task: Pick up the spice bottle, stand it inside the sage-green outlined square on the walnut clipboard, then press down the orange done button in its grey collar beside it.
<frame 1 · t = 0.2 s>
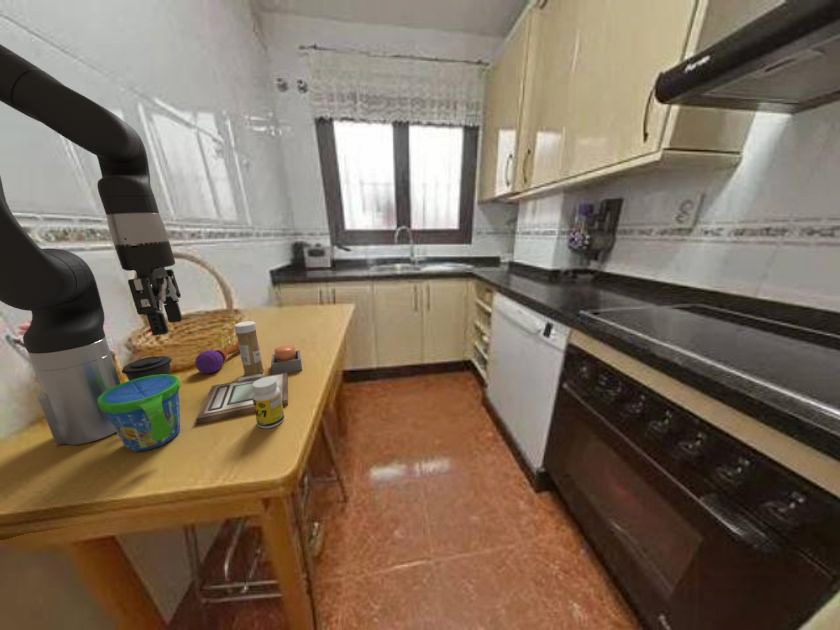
hand: (169, 327, 60), 18 cm above the table, tool pointing down, fingers open, 8 cm apart
supplement bottle: (271, 422, 60), on the table
coffee cup: (158, 403, 68), on the table
colouring board: (248, 397, 69), on the table
button collar: (287, 367, 83), on the table
kendama: (228, 361, 89), on the table
spice bottle: (254, 374, 81), on the table
snack cup: (155, 440, 56), on the table
done button: (285, 355, 82), point 3 cm above the table, slide at 0.0 cm
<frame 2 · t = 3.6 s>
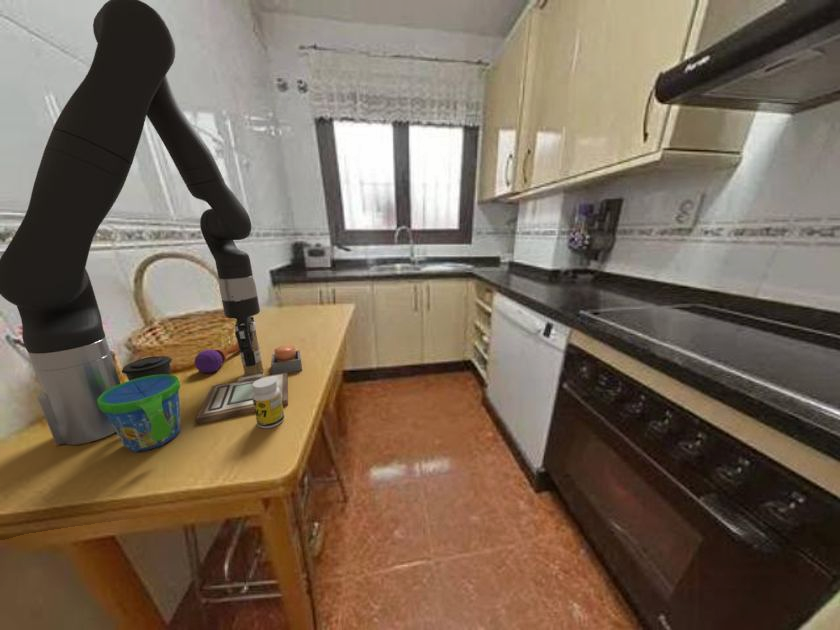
hand: (251, 361, 80), 3 cm above the table, tool pointing down, fingers closed on spice bottle, 4 cm apart
spice bottle: (254, 373, 81), on the table, touching gripper
everything else where it was.
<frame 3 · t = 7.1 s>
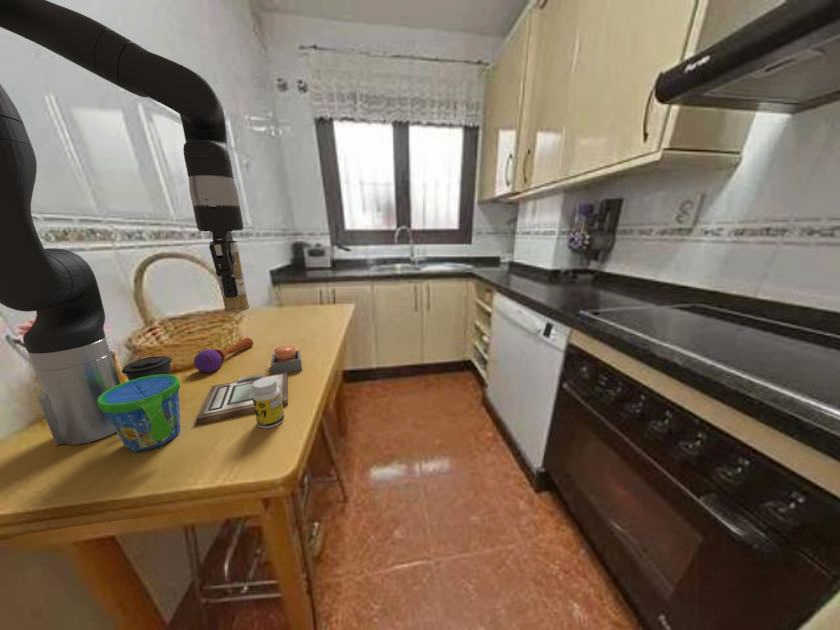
hand: (233, 294, 63), 23 cm above the table, tool pointing down, fingers closed on spice bottle, 4 cm apart
spice bottle: (237, 311, 64), point 19 cm above the table, touching gripper
everything else where it was.
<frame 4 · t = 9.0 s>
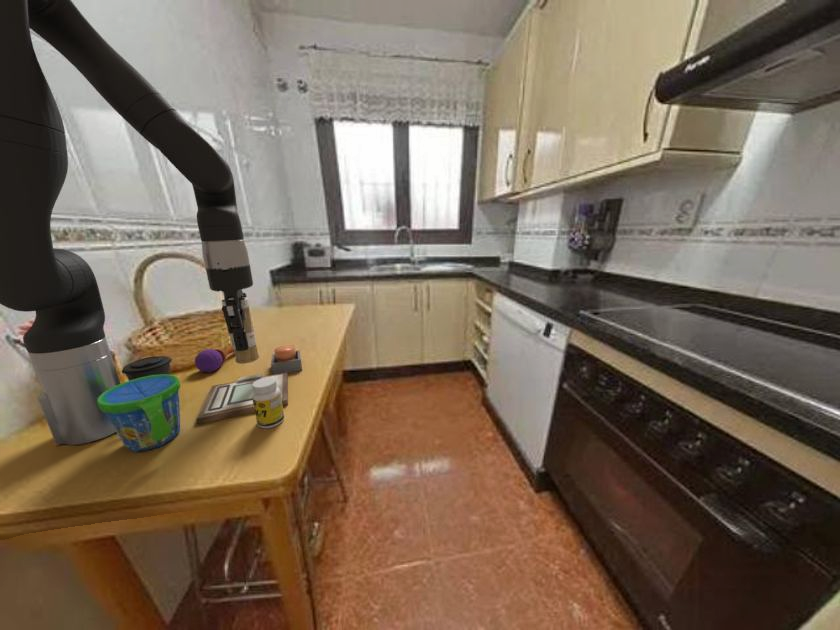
hand: (244, 345, 66), 12 cm above the table, tool pointing down, fingers closed on spice bottle, 4 cm apart
spice bottle: (247, 360, 67), point 8 cm above the table, touching gripper
everything else where it was.
when the fingers open (6 cm above the table, at t = 10.6 s): spice bottle drops 1 cm, resting on colouring board.
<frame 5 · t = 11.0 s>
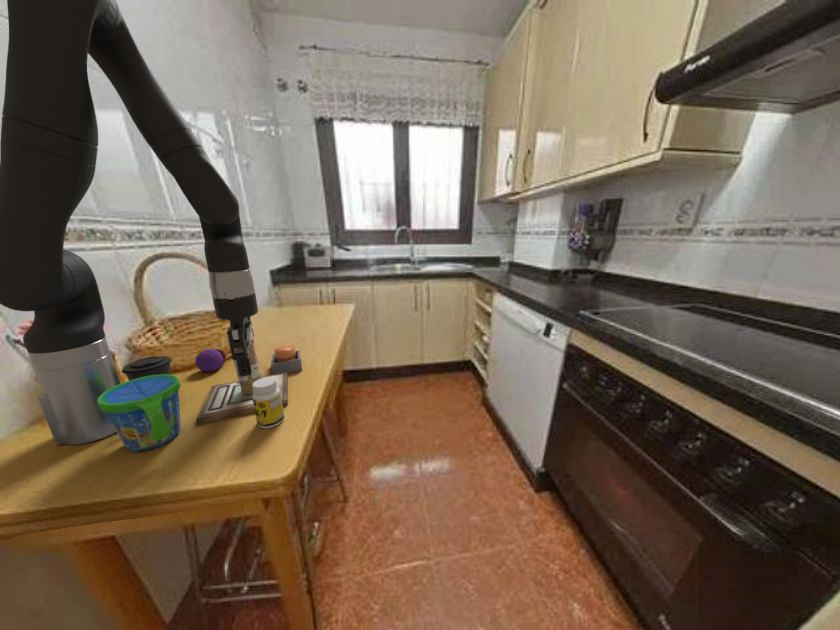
hand: (248, 367, 67), 7 cm above the table, tool pointing down, fingers open, 8 cm apart
spice bottle: (252, 390, 69), point 1 cm above the table, touching colouring board
everything else where it was.
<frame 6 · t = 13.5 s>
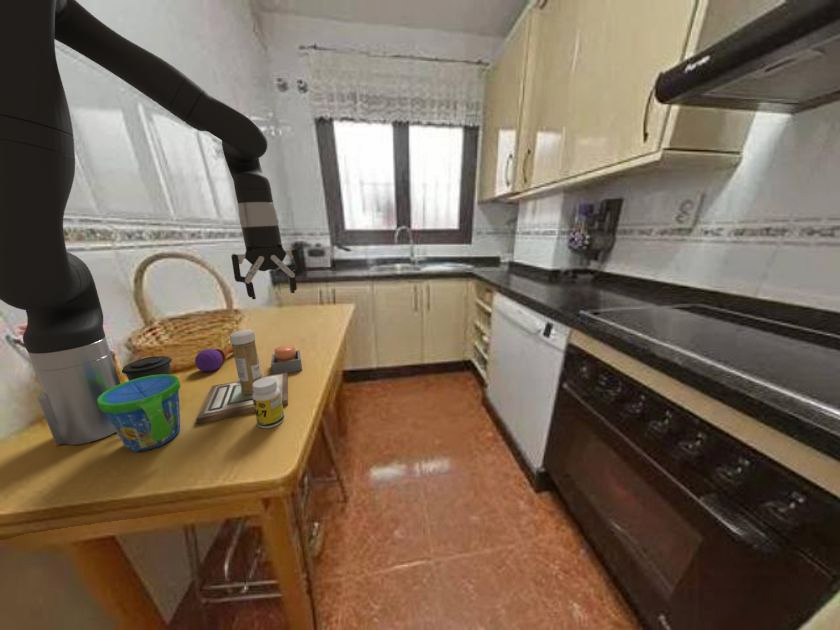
hand: (273, 295, 75), 20 cm above the table, tool pointing down, fingers open, 8 cm apart
nothing on the table moved.
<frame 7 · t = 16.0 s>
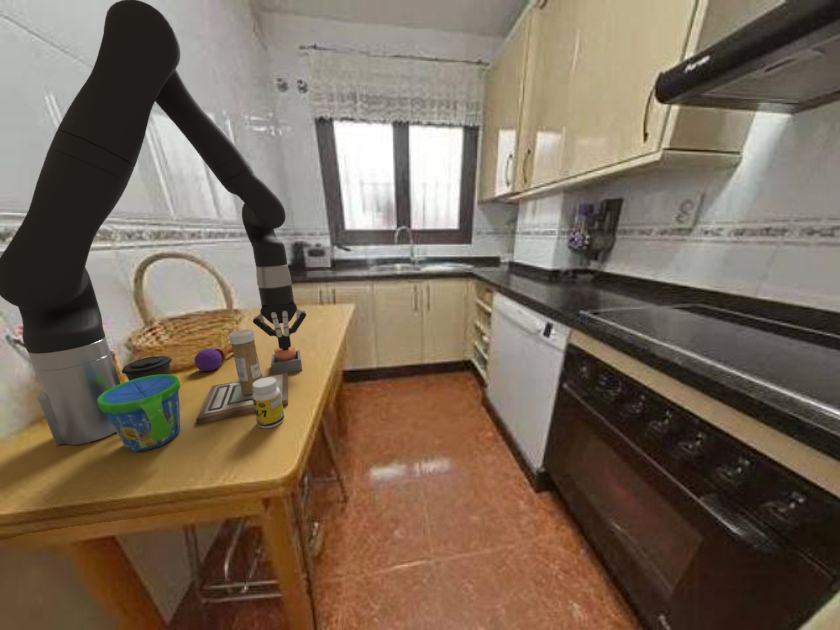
hand: (285, 349, 82), 5 cm above the table, tool pointing down, fingers closed
done button: (285, 355, 82), point 3 cm above the table, slide at 0.1 cm, touching gripper
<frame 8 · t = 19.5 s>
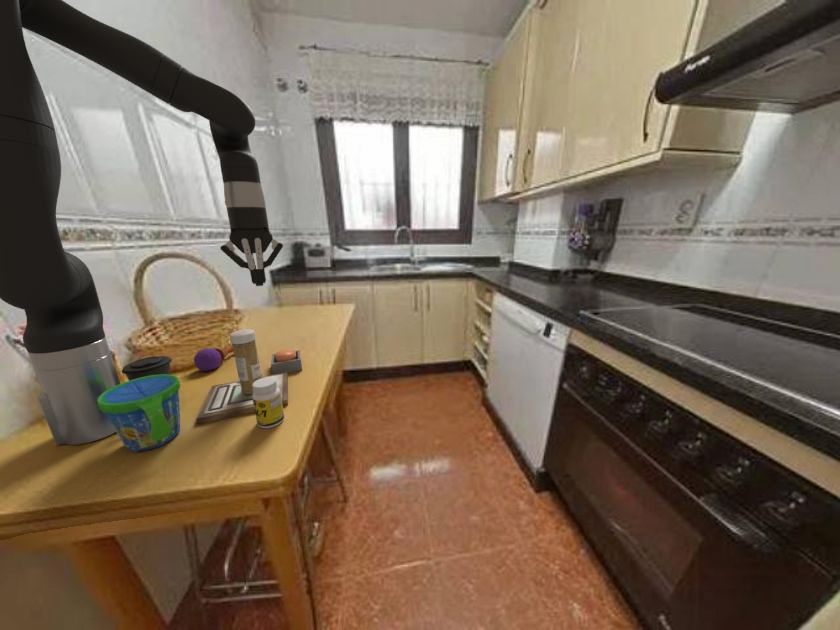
hand: (259, 285, 72), 23 cm above the table, tool pointing down, fingers closed
done button: (286, 359, 83), point 2 cm above the table, slide at 1.2 cm
at the end: spice bottle 0.0 cm from the target spot, point 1.3 cm above the table; spice bottle tilted 1°; done button slide at 1.2 cm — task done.
